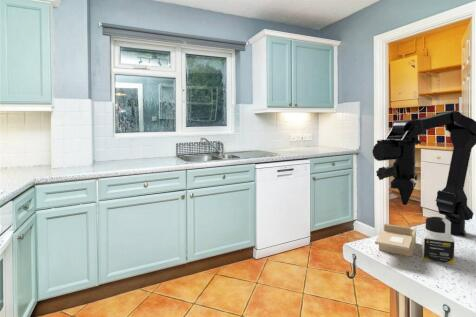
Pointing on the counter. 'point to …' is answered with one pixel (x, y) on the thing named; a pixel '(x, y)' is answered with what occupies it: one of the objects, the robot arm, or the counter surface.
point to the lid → (395, 236)
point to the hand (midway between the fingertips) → (404, 204)
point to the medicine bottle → (438, 240)
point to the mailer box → (401, 251)
